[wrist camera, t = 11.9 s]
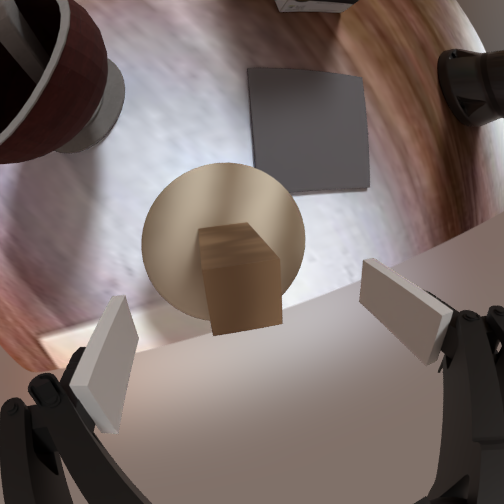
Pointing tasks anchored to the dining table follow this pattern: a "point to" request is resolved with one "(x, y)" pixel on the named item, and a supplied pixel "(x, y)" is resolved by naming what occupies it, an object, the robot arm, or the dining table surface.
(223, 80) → the dining table surface
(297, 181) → the mat
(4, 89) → the mate gourd
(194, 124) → the dining table surface
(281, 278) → the lid
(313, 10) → the tea box
